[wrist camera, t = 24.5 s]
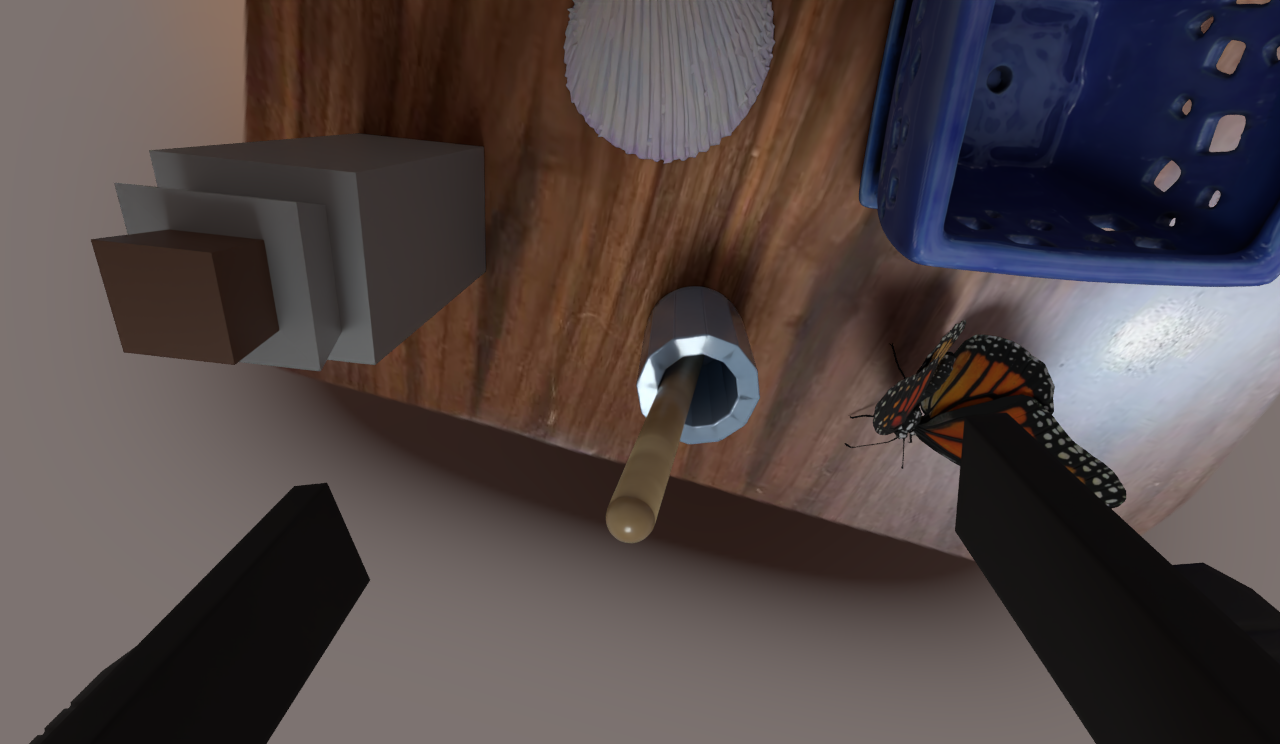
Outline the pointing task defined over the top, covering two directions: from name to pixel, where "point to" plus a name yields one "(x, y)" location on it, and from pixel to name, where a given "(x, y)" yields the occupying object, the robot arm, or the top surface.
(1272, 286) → the top surface
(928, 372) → the butterfly
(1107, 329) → the top surface
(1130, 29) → the flower pot
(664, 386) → the stick
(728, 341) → the holder
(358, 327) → the perfume bottle
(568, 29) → the seashell
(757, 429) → the top surface
